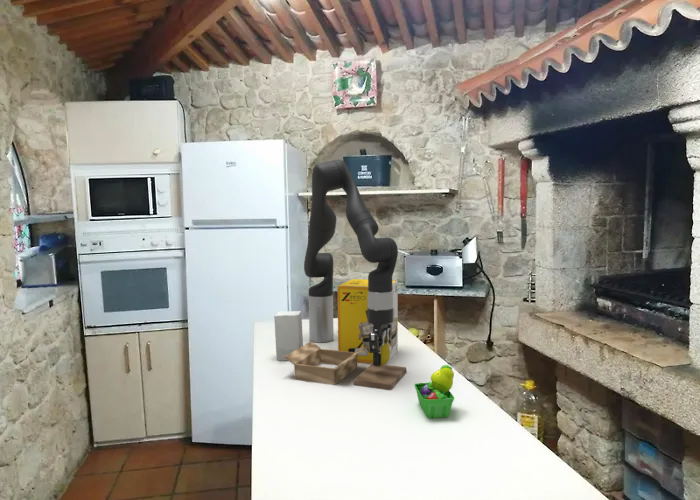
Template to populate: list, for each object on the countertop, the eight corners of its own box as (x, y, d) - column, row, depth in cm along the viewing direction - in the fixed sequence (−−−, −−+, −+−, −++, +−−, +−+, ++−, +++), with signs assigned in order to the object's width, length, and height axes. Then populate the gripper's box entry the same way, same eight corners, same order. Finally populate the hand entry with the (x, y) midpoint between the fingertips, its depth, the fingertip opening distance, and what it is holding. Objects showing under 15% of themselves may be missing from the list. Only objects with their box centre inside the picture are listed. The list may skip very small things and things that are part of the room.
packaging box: (386, 365, 158) (385, 287, 156) (338, 360, 164) (337, 285, 162) (397, 351, 174) (397, 280, 172) (353, 347, 179) (353, 278, 177)
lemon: (392, 364, 148) (392, 338, 147) (387, 370, 142) (387, 343, 142) (374, 363, 149) (374, 337, 149) (368, 368, 144) (368, 342, 144)
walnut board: (372, 368, 156) (372, 363, 155) (406, 372, 151) (406, 367, 151) (353, 385, 141) (353, 379, 141) (390, 390, 137) (390, 384, 137)
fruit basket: (413, 402, 128) (413, 359, 127) (446, 400, 129) (447, 358, 128) (423, 421, 117) (423, 374, 116) (460, 419, 118) (460, 372, 117)
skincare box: (303, 355, 170) (302, 310, 168) (299, 361, 163) (299, 314, 162) (279, 355, 170) (278, 310, 169) (275, 361, 164) (273, 314, 162)
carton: (310, 361, 163) (310, 341, 163) (367, 367, 156) (366, 346, 155) (284, 377, 147) (284, 355, 147) (346, 386, 140) (345, 363, 139)
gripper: (376, 301, 152) (376, 354, 154) (359, 310, 139) (359, 368, 141) (399, 302, 150) (399, 357, 151) (384, 312, 136) (385, 371, 138)
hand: (380, 362), depth 146 cm, fingers closed on lemon, 5 cm apart
